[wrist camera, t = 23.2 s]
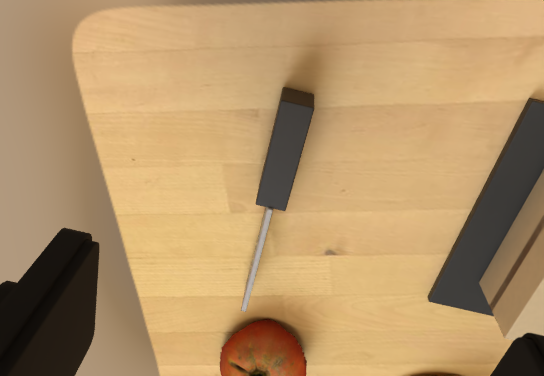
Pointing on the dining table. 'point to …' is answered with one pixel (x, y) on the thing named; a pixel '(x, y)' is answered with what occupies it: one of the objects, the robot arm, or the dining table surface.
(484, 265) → the cake
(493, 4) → the dining table surface
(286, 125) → the knife
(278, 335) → the tomato
